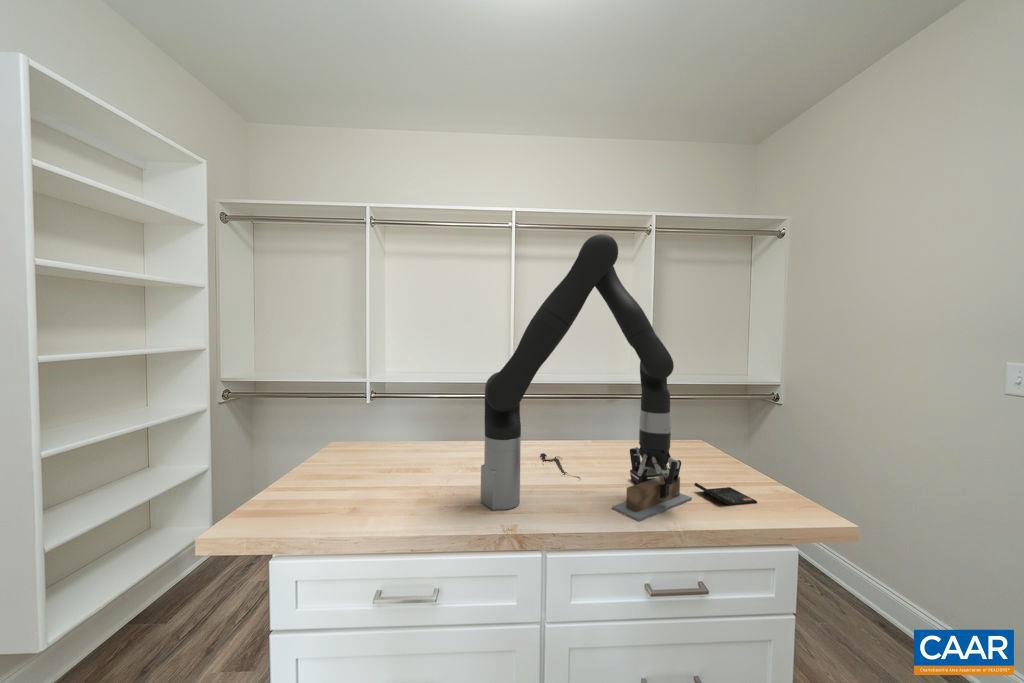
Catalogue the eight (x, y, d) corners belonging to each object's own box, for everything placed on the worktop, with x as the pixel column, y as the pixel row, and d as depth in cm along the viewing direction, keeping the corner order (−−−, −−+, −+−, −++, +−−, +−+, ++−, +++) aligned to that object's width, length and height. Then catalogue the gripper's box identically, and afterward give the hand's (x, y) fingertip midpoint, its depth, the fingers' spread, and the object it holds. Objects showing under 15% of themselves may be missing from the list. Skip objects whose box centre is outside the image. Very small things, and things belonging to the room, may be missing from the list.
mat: (638, 521, 92) (638, 519, 92) (611, 508, 98) (611, 506, 98) (691, 499, 104) (691, 497, 104) (664, 489, 111) (665, 487, 111)
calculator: (756, 504, 103) (757, 492, 103) (718, 508, 100) (718, 496, 100) (729, 490, 112) (730, 479, 112) (693, 493, 109) (694, 482, 109)
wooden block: (636, 512, 95) (636, 491, 95) (626, 507, 98) (626, 487, 97) (679, 495, 105) (680, 477, 105) (669, 491, 108) (669, 473, 108)
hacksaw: (539, 456, 140) (539, 452, 140) (568, 456, 140) (568, 452, 140) (547, 482, 116) (547, 477, 116) (582, 482, 116) (582, 477, 116)
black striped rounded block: (640, 490, 111) (678, 485, 113) (638, 476, 111) (676, 471, 113) (629, 481, 118) (665, 477, 120) (628, 469, 118) (664, 464, 120)
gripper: (622, 424, 105) (621, 487, 105) (671, 436, 93) (669, 508, 93) (640, 421, 109) (639, 482, 109) (689, 432, 97) (687, 500, 97)
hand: (653, 493), depth 101 cm, fingers open, 5 cm apart
